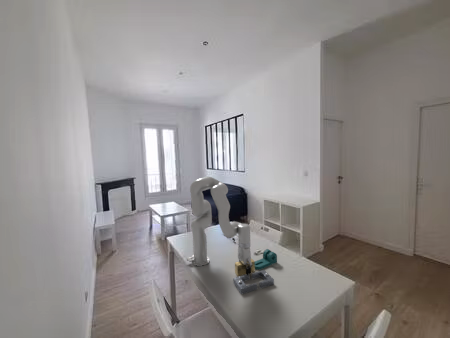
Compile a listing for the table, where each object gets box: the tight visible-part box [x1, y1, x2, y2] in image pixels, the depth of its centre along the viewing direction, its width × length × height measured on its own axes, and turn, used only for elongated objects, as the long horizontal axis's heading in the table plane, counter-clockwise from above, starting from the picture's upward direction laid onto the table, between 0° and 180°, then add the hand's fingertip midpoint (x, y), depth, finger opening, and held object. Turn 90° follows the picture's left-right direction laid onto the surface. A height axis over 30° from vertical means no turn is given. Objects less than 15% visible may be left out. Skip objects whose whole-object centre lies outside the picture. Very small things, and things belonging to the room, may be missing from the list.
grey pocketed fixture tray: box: [232, 269, 275, 295], centre depth 120 cm, size 21×10×4 cm, turn 111°
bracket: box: [254, 248, 278, 271], centre depth 139 cm, size 18×7×8 cm, turn 121°
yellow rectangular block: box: [234, 258, 256, 277], centre depth 131 cm, size 12×4×7 cm, turn 112°
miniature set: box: [226, 235, 239, 245], centre depth 182 cm, size 6×35×12 cm
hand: (244, 269), depth 131 cm, fingers open, 9 cm apart
